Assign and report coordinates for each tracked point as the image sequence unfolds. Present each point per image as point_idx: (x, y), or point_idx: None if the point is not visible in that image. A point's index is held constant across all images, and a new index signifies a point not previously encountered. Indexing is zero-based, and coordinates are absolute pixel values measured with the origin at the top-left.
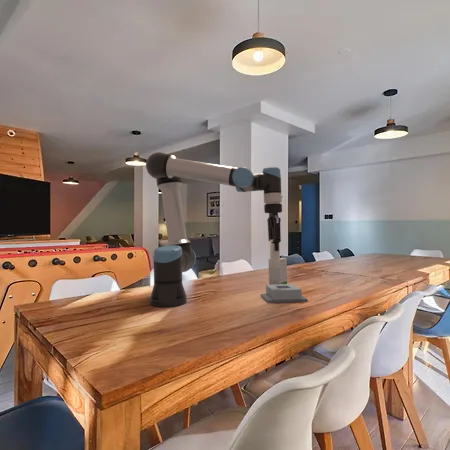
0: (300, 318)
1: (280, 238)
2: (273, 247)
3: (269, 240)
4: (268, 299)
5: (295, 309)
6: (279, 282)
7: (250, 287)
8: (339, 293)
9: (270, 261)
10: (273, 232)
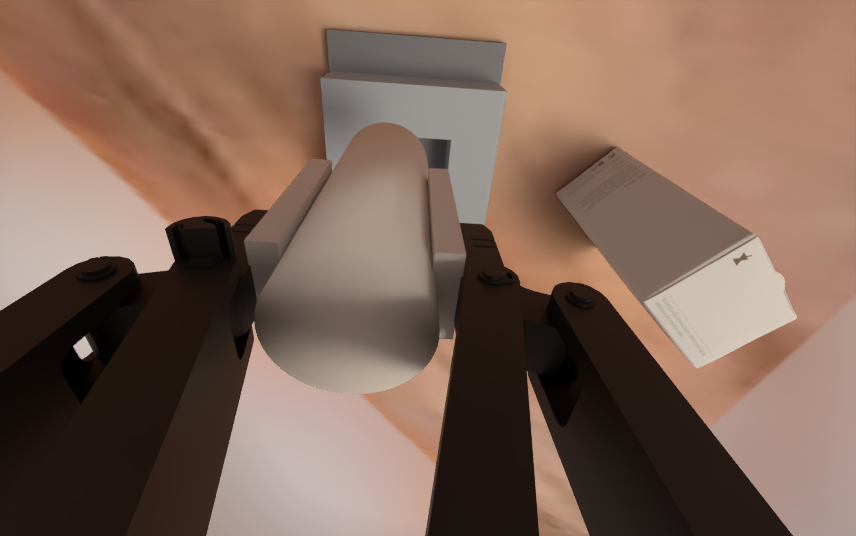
0: (47, 96)
1: (78, 380)
2: (270, 216)
3: (553, 292)
4: (352, 46)
5: (201, 134)
6: (575, 211)
7: (771, 53)
8: (446, 382)
9: (391, 138)
10: (73, 426)
